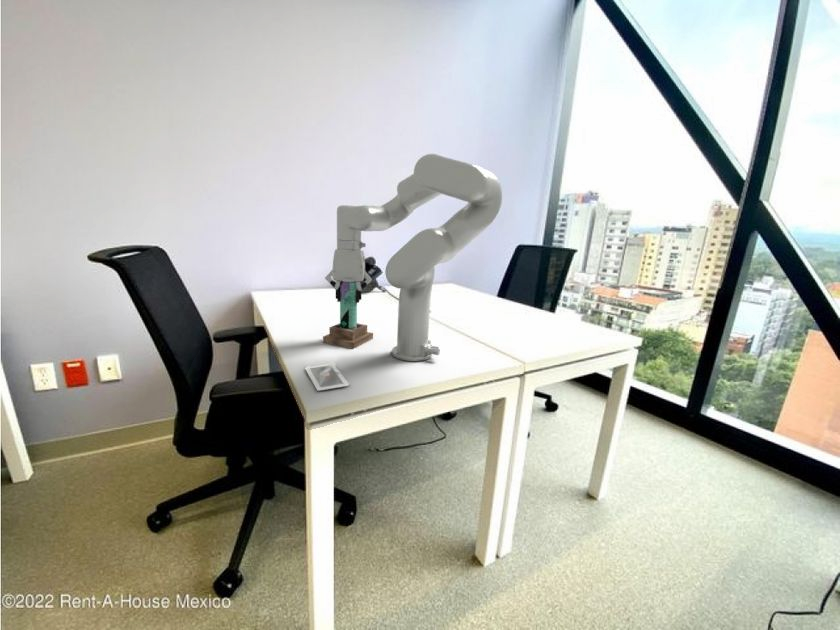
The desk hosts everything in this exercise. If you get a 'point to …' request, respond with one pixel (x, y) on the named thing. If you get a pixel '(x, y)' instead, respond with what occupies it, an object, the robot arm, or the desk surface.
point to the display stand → (348, 336)
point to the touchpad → (326, 377)
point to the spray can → (348, 304)
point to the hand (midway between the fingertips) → (348, 300)
